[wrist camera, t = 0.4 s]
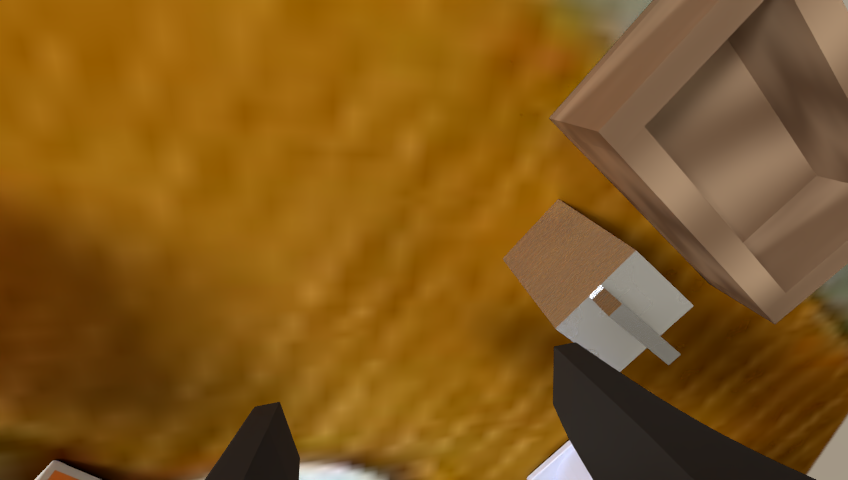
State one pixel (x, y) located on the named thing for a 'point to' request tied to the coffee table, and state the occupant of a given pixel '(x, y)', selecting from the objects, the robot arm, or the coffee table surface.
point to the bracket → (596, 288)
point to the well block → (729, 139)
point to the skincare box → (63, 473)
